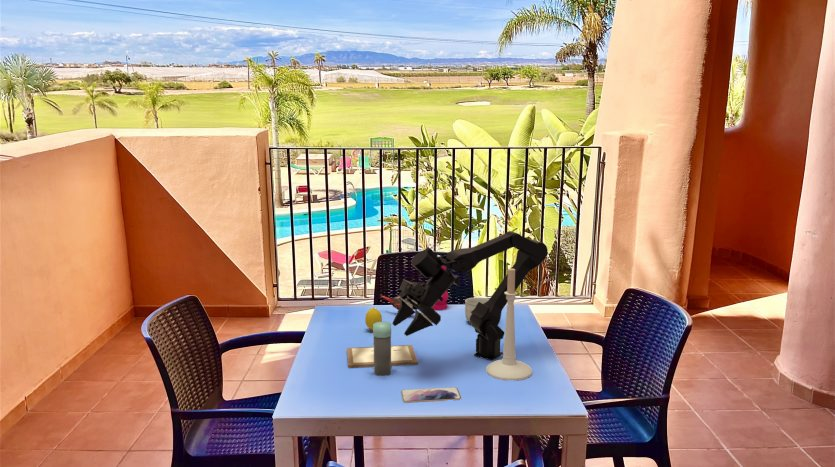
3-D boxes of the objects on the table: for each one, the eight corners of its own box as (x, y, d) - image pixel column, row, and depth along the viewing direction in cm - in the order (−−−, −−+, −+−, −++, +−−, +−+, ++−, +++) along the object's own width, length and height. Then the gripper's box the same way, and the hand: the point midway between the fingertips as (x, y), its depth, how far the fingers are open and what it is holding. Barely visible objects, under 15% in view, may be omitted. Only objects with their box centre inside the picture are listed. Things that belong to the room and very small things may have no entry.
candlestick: (496, 383, 178) (498, 274, 173) (479, 365, 191) (481, 263, 185) (539, 377, 182) (543, 271, 176) (520, 361, 194) (523, 260, 188)
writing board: (411, 347, 205) (411, 344, 205) (417, 364, 191) (417, 361, 191) (346, 350, 202) (346, 347, 202) (348, 367, 189) (348, 364, 189)
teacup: (459, 320, 231) (459, 298, 230) (486, 316, 236) (486, 294, 234) (479, 332, 219) (479, 309, 217) (507, 327, 223) (507, 305, 222)
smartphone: (462, 398, 168) (403, 401, 166) (462, 401, 168) (403, 404, 167) (457, 386, 175) (400, 389, 173) (457, 389, 175) (400, 392, 173)
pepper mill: (448, 305, 249) (449, 253, 245) (447, 311, 242) (448, 257, 238) (429, 304, 249) (429, 252, 246) (428, 310, 242) (428, 257, 239)
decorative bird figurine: (419, 320, 231) (419, 292, 229) (377, 312, 240) (377, 285, 238) (423, 318, 233) (423, 291, 231) (382, 310, 242) (381, 284, 240)
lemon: (379, 334, 217) (379, 310, 216) (363, 333, 218) (362, 309, 217) (383, 328, 222) (383, 305, 221) (367, 327, 223) (367, 304, 222)
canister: (395, 371, 186) (394, 323, 183) (383, 377, 182) (383, 328, 180) (381, 367, 189) (381, 320, 186) (370, 373, 185) (369, 325, 183)
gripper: (404, 262, 193) (369, 303, 191) (430, 277, 176) (391, 322, 174) (429, 286, 197) (394, 326, 195) (457, 303, 180) (419, 347, 178)
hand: (399, 329), depth 185 cm, fingers open, 9 cm apart
